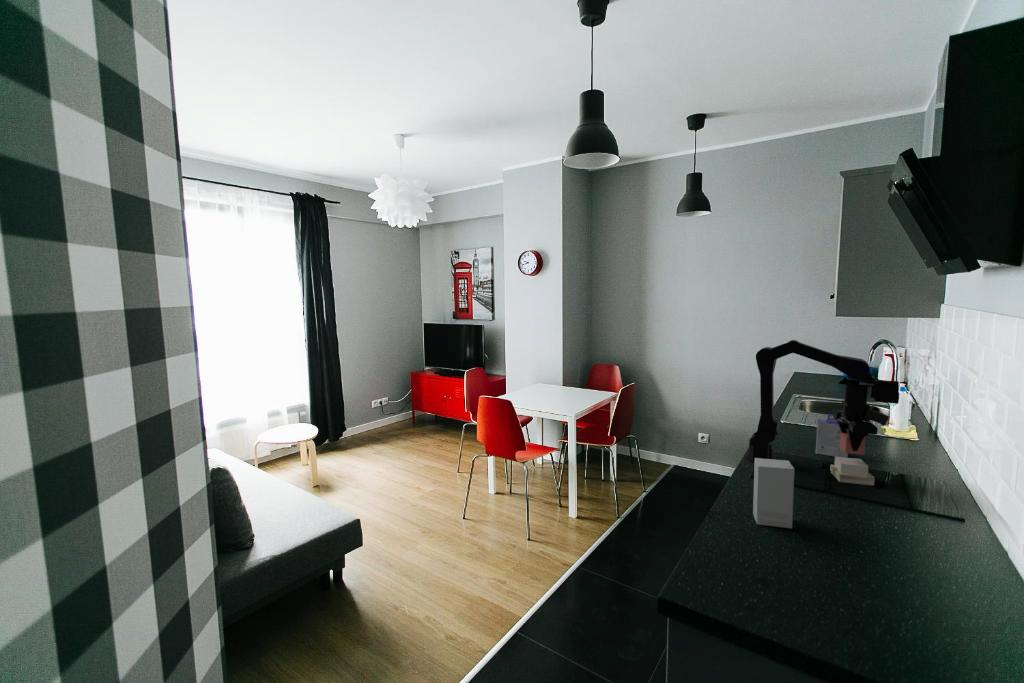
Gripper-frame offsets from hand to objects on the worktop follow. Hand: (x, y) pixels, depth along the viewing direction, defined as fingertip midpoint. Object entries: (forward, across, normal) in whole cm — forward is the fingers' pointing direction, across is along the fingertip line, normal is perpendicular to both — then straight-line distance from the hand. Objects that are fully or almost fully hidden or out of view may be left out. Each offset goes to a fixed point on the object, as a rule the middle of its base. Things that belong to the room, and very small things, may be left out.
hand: (851, 448), depth 148 cm
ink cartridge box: (+10, +23, -2) cm, 25 cm away
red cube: (+1, 0, 0) cm, 1 cm away
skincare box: (+10, -40, +30) cm, 51 cm away
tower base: (+10, 0, 0) cm, 10 cm away
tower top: (+7, 0, 0) cm, 7 cm away
